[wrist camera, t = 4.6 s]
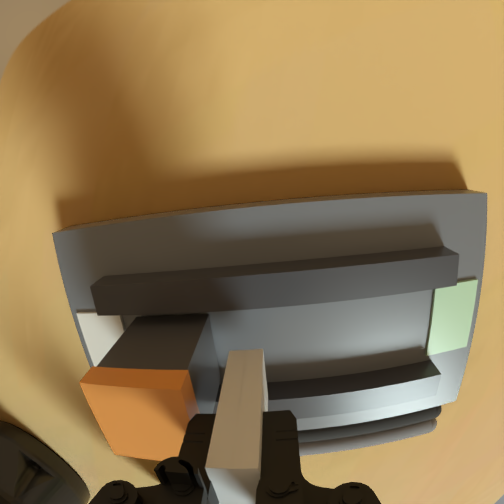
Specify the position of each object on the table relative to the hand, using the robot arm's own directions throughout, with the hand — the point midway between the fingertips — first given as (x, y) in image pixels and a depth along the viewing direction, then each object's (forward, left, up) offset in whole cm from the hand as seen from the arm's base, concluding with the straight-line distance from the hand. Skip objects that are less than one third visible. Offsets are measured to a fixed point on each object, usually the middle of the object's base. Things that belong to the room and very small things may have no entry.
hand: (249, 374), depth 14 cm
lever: (-4, 0, -3) cm, 5 cm away
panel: (+1, 0, -5) cm, 5 cm away
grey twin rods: (+1, -9, -5) cm, 11 cm away
